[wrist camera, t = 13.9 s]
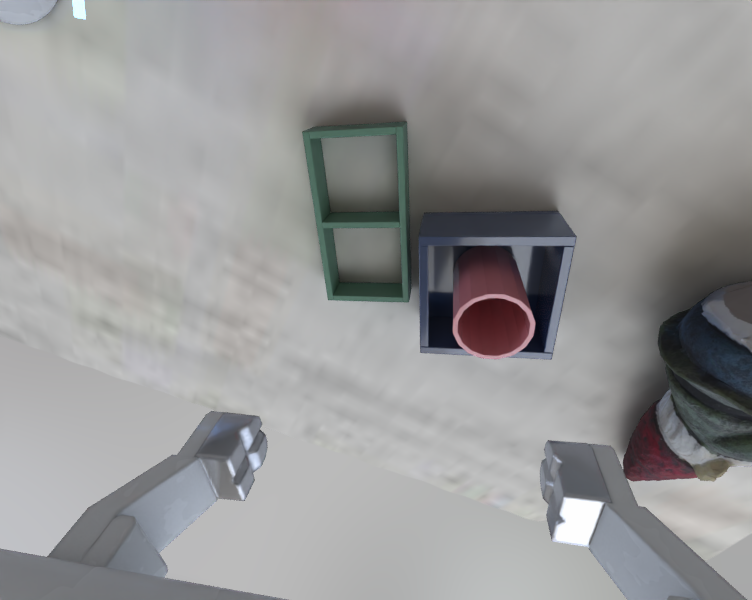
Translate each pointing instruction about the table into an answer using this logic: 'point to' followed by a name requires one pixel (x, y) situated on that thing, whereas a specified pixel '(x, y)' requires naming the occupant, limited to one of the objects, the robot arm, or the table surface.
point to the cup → (490, 304)
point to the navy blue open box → (531, 252)
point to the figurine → (700, 394)
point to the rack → (359, 213)
